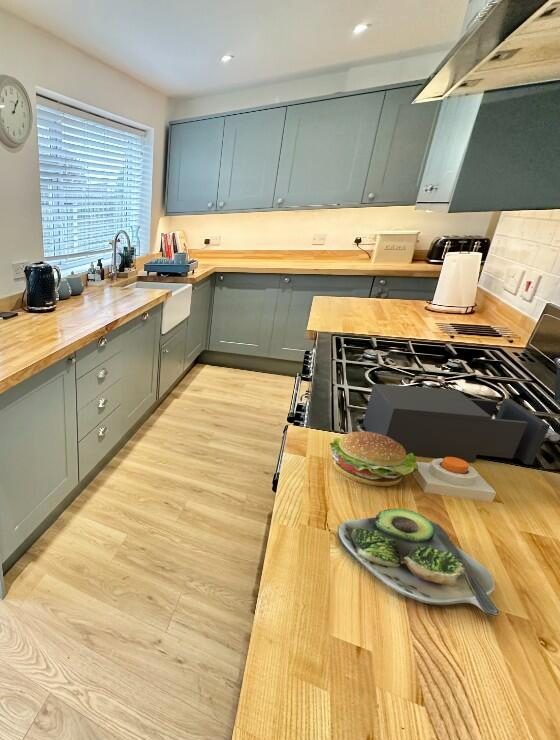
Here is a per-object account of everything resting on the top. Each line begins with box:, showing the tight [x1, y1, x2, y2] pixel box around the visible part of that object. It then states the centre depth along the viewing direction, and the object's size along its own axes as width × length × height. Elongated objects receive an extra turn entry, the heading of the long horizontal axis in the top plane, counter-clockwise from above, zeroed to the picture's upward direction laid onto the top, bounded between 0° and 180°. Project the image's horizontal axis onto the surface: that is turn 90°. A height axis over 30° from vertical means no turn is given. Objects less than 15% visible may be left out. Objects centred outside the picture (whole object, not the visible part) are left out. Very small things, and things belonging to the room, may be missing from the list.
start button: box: [441, 457, 470, 474], centre depth 80 cm, size 4×4×2 cm
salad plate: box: [337, 508, 500, 617], centre depth 63 cm, size 19×18×5 cm
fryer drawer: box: [467, 397, 560, 465], centre depth 89 cm, size 19×13×9 cm
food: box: [329, 430, 418, 487], centre depth 85 cm, size 14×14×8 cm
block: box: [410, 458, 497, 503], centre depth 80 cm, size 10×8×4 cm
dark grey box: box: [362, 383, 493, 464], centre depth 94 cm, size 16×14×11 cm
